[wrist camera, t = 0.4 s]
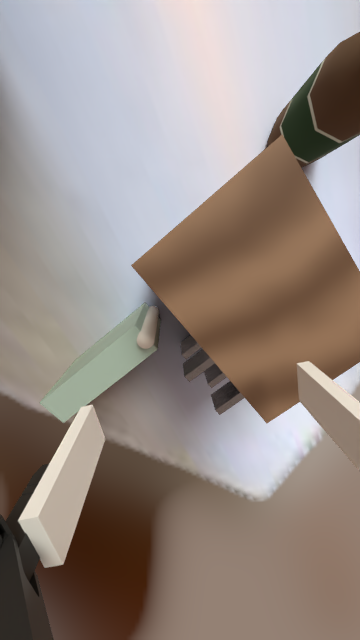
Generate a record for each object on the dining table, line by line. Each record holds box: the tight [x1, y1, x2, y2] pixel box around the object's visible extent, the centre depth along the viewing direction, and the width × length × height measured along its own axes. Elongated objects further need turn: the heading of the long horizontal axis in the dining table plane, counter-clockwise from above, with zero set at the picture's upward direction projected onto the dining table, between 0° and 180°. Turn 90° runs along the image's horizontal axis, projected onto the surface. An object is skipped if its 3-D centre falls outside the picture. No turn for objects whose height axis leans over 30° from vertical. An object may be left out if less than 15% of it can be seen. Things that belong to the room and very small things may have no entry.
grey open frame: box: [181, 335, 245, 415], centre depth 36 cm, size 8×6×12 cm
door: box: [40, 303, 161, 423], centre depth 35 cm, size 5×17×13 cm, turn 129°
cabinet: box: [131, 135, 360, 423], centre depth 28 cm, size 18×13×21 cm
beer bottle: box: [267, 32, 360, 168], centre depth 22 cm, size 8×8×24 cm
